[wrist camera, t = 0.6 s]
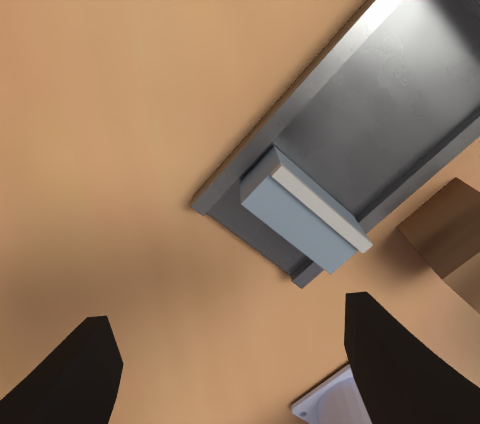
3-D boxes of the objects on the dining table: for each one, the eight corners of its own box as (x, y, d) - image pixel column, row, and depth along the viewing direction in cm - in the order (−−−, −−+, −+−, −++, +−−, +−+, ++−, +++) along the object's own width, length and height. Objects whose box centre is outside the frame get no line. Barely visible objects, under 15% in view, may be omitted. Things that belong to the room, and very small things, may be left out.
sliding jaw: (353, 215, 19) (373, 245, 16) (318, 246, 20) (332, 279, 17) (273, 145, 17) (281, 165, 15) (239, 182, 18) (241, 208, 15)
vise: (561, 41, 16) (637, 43, 13) (297, 274, 22) (308, 313, 19) (463, -109, 14) (528, -149, 11) (193, 195, 19) (186, 225, 16)
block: (495, 219, 21) (568, 271, 16) (436, 264, 22) (490, 323, 17) (455, 176, 19) (523, 219, 15) (396, 226, 21) (442, 279, 16)
